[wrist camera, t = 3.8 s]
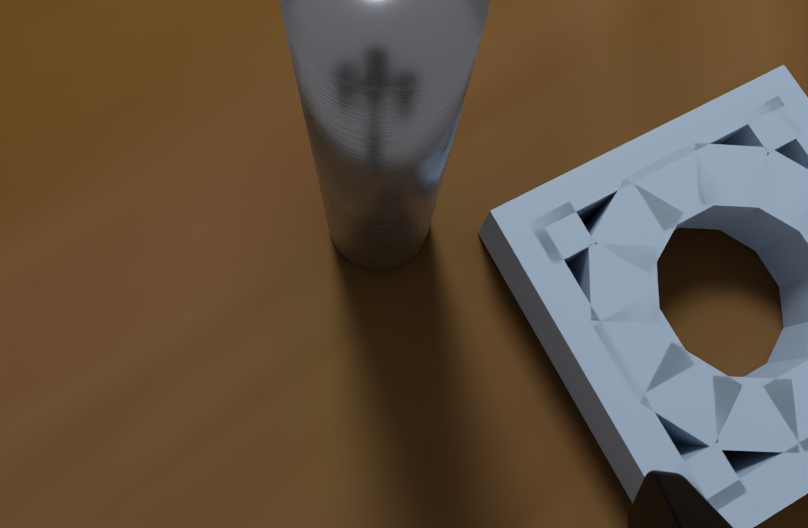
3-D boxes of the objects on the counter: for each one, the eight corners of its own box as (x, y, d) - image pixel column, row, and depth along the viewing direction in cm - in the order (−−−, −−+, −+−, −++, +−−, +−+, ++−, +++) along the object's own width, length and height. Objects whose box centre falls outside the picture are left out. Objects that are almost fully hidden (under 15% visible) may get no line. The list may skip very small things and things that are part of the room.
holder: (936, 375, 23) (1004, 369, 20) (657, 547, 21) (695, 564, 18) (744, 99, 25) (783, 64, 23) (478, 233, 23) (490, 210, 21)
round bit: (446, 242, 23) (527, 35, 11) (356, 287, 22) (336, 119, 10) (400, 159, 24) (427, -121, 12) (312, 200, 23) (245, -50, 11)
